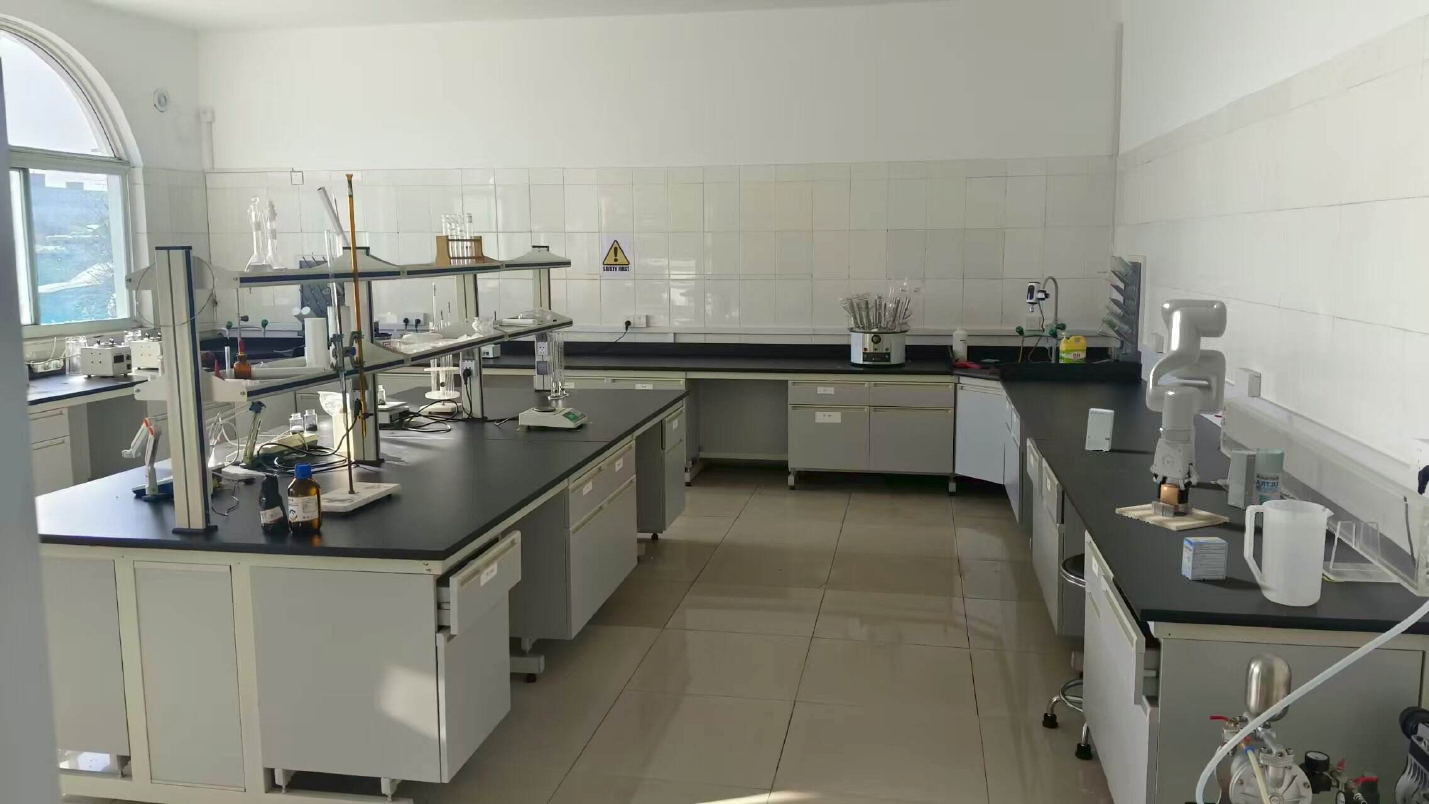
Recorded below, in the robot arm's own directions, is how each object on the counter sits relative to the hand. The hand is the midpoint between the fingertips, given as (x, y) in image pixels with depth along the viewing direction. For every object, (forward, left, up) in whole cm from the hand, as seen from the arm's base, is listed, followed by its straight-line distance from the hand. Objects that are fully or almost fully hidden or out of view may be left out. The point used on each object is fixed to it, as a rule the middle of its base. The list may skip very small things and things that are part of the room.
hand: (1172, 500), depth 282 cm
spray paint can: (+16, +16, -5) cm, 23 cm away
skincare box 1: (-80, +55, -5) cm, 97 cm away
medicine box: (+40, -36, -5) cm, 54 cm away
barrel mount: (0, 0, -5) cm, 5 cm away
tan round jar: (0, 0, -1) cm, 1 cm away
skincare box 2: (0, +30, -5) cm, 31 cm away
